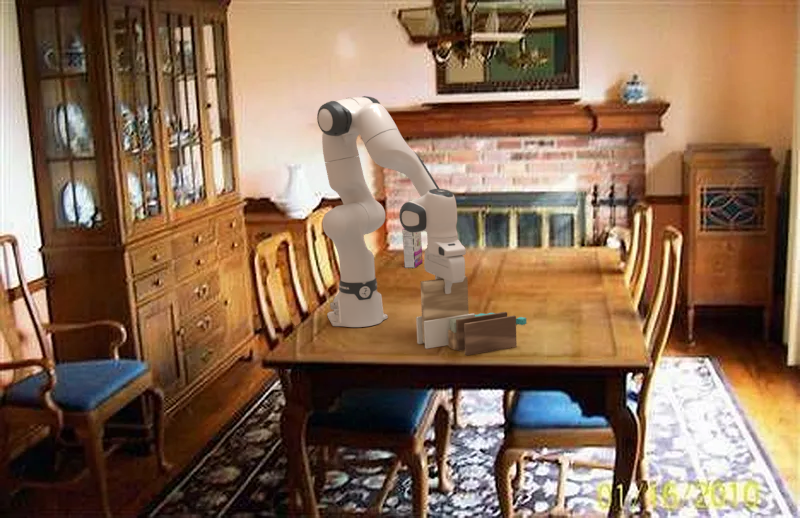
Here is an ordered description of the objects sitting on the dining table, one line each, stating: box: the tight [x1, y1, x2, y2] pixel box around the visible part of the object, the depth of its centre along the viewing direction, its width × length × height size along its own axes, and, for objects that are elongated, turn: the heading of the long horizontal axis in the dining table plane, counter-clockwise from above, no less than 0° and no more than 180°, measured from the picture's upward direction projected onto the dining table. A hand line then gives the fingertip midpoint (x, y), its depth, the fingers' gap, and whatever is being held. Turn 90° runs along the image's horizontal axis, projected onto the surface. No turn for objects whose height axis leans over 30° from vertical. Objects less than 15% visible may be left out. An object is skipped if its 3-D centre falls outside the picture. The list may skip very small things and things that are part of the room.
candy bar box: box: [401, 228, 424, 269], centre depth 381 cm, size 11×5×16 cm, turn 162°
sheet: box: [420, 275, 470, 342], centre depth 269 cm, size 2×14×18 cm, turn 113°
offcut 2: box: [448, 330, 458, 351], centre depth 265 cm, size 4×6×5 cm, turn 113°
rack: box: [456, 311, 517, 356], centre depth 262 cm, size 6×16×9 cm, turn 113°
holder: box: [415, 313, 476, 350], centre depth 270 cm, size 6×16×8 cm, turn 113°
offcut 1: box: [450, 318, 463, 333], centre depth 264 cm, size 4×5×3 cm
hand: (444, 292), depth 268 cm, fingers closed on sheet, 2 cm apart
